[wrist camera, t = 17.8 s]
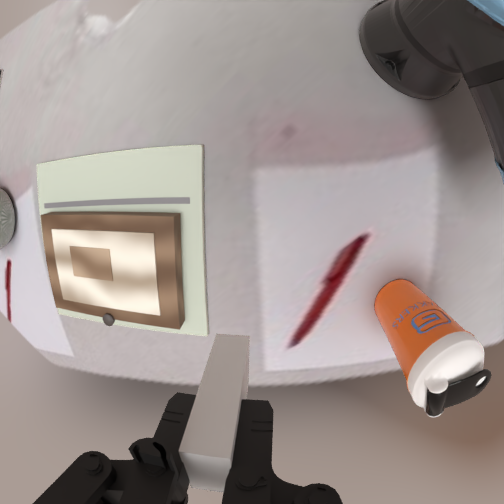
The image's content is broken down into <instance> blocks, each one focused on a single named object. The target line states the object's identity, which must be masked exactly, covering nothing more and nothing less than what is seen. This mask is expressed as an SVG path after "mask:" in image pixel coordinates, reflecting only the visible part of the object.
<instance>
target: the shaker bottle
mask: <svg viewBox="0 0 504 504" xmlns="http://www.w3.org/2000/svg"><path fill="white" fill-rule="evenodd" d="M375 312H376V315H377V317H378V319H379V321H380V323H381V325H382V327H383V329H384V331H385V334H386V336H387V338H388V340H389V342H390V344H391V346H392V349H393V351H394V353H395V355H396V357H397V360H398V362H399V364H400V366H401V369H402V371H403V373H404V376H405V378H406V380H407V388H408V391H409V392H410V393H411V396H412V398H413V400H414V402H415V403H416V404H417V405H418V406H420V407H423V408H424V409H425V412H426V414H427V415H428V416H430V417H437V416H439V415H441V414H442V413H443V411H444V408H447V407H450V406H453V405H456V404H459V403H461V402H463V401H466V400H468V399H470V398H472V397H474V396H476V395H477V394H479V393H480V392H481V391H482V390H483V389H484V388H485V387H486V385H487V384H488V382H489V380H490V378H491V372H490V371H489V370H487V369H483V364H484V349H483V347H482V345H481V343H480V342H479V341H478V340H477V339H476V338H475V337H474V335H473V334H471V333H470V332H468V331H465V330H464V329H463V328H462V327H461V326H460V325H459V324H458V323H457V322H456V321H454V320H453V319H452V318H451V317H450V316H449V315H448V314H447V313H446V312H445V311H443V310H442V309H441V308H440V307H439V306H438V305H437V304H436V303H435V302H433V301H432V300H431V299H430V298H429V297H428V296H427V295H425V294H424V293H423V292H422V291H421V290H420V289H418V288H417V287H416V286H415V285H414V284H412V283H411V282H410V281H408V280H403V279H398V280H394V281H392V282H389V283H388V284H387V285H385V286H384V287H383V288H382V289H381V290H380V292H379V293H378V295H377V297H376V300H375ZM482 369H483V370H482Z"/></svg>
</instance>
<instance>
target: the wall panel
mask: <svg viewBox="0 0 504 504" xmlns="http://www.w3.org/2000/svg"><path fill="white" fill-rule="evenodd" d="M37 186H38V201H39V212H40V221H41V215H43V214H46V213H49V212H165V213H180V222H181V260H182V282H183V300H184V315H185V321H184V323H183V325H182V327H181V328H180V330H179V329H171V328H164V327H157V326H150V325H144V324H138V323H131V322H126V321H120V320H115V322H114V324H113V325H119V326H126V327H132V328H139V329H146V330H154V331H162V332H170V333H179V334H188V335H198V336H208V334H209V326H208V309H207V290H206V267H205V237H204V145H183V146H166V147H153V148H142V149H132V150H123V151H114V152H106V153H99V154H92V155H85V156H79V157H73V158H67V159H61V160H56V161H51V162H46V163H41V164H37ZM41 229H42V224H41ZM42 236H43V233H42ZM43 243H44V241H43ZM44 249H45V248H44ZM45 255H46V254H45ZM57 309H58V313H59V314H61V315H65V316H70V317H75V318H80V319H85V320H91V321H96V322H102V323H104V322H103V317H98V316H93V315H88V314H84V313H79V312H74V311H70V310H65V309H61V308H57Z"/></svg>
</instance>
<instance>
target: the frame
mask: <svg viewBox="0 0 504 504" xmlns="http://www.w3.org/2000/svg"><path fill="white" fill-rule="evenodd" d="M41 224H42V233H43V241H44V248H45V254H46V261H47V266H48V272H49V277H50V282H51V287H52V291H53V296H54V300H55V304H56V307H57V308H61V309H65V310H70V311H74V312H79V313H84V314H88V315H93V316H98V317H103V322H104V323H105V324H106V325H107V326H112V325H113V324H114V322H115V320H120V321H126V322H131V323H138V324H144V325H150V326H157V327H164V328H171V329H179V330H180V328H181V327H182V325H183V323H184V321H185V315H184V300H183V282H182V260H181V222H180V213H165V212H49V213H46V214H43V215H41Z"/></svg>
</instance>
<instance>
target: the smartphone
mask: <svg viewBox="0 0 504 504" xmlns="http://www.w3.org/2000/svg"><path fill="white" fill-rule="evenodd" d="M2 75H3V69H0V87H1V81H2Z"/></svg>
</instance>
